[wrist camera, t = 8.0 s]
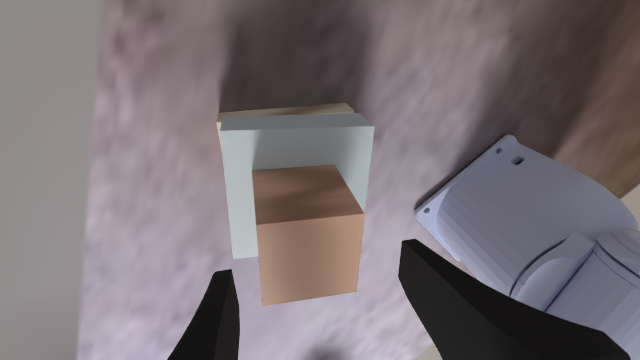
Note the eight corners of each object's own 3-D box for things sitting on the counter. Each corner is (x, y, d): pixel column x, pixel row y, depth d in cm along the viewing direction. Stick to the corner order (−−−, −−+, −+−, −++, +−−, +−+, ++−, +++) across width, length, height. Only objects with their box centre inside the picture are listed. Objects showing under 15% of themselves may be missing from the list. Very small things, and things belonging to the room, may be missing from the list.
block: (334, 164, 18) (364, 213, 14) (331, 230, 20) (356, 291, 16) (251, 170, 17) (256, 224, 13) (257, 239, 19) (262, 306, 15)
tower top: (360, 113, 20) (374, 126, 18) (349, 223, 23) (360, 245, 21) (222, 116, 18) (220, 130, 16) (233, 234, 22) (233, 259, 20)
